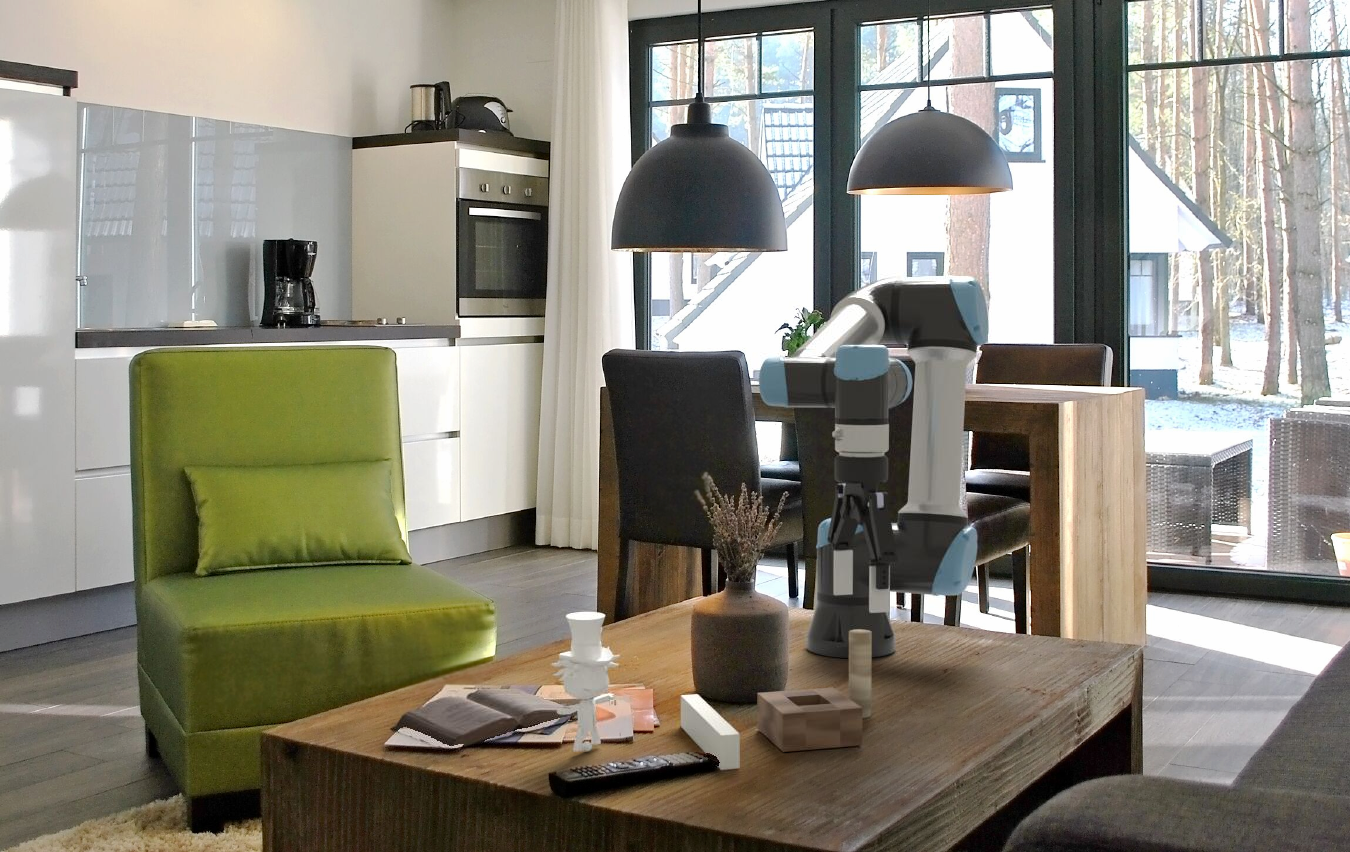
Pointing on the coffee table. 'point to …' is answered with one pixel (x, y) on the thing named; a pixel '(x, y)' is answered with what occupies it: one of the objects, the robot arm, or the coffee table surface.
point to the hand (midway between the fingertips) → (860, 603)
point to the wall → (710, 731)
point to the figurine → (586, 674)
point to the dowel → (860, 669)
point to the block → (809, 719)
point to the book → (479, 715)
